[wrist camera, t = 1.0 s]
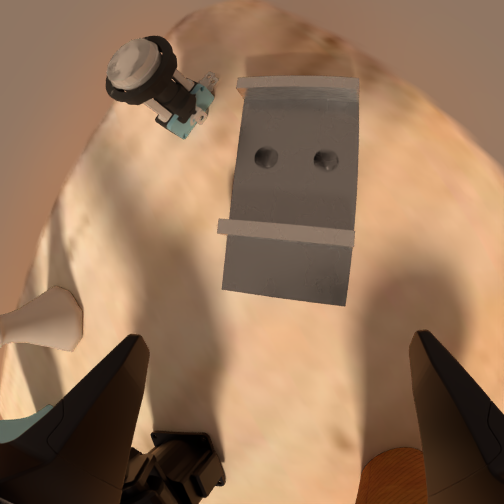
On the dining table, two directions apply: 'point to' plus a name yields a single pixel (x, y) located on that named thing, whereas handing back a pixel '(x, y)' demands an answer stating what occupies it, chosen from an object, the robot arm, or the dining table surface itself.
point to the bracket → (294, 189)
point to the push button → (159, 84)
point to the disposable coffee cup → (394, 478)
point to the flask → (45, 321)
